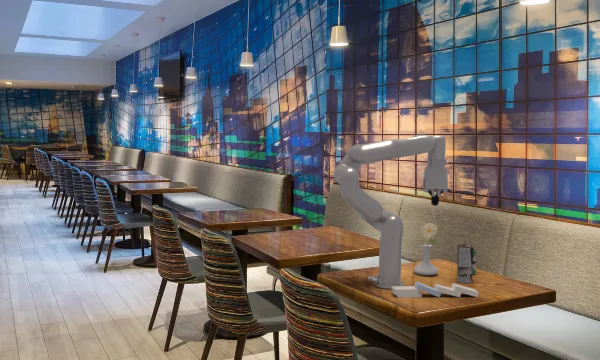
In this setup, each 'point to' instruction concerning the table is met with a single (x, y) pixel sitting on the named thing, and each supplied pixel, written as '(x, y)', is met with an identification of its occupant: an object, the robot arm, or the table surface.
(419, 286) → the domino
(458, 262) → the coffee box
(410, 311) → the table surface
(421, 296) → the domino
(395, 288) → the domino
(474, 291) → the domino
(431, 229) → the flower in vase
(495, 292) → the table surface
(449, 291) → the domino
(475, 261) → the beverage can
